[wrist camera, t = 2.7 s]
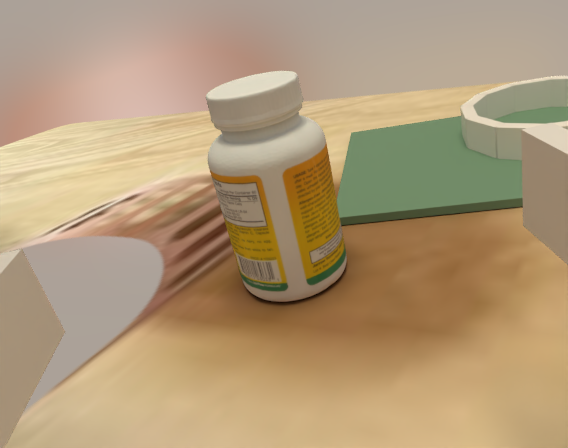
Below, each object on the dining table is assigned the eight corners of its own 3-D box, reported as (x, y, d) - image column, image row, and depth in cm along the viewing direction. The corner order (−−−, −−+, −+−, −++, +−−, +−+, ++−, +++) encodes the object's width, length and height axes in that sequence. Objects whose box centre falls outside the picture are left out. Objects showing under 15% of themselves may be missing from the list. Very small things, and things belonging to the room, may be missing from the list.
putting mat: (334, 226, 29) (332, 218, 29) (352, 138, 42) (351, 132, 42) (729, 184, 24) (731, 175, 24) (611, 99, 37) (612, 93, 37)
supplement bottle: (244, 316, 23) (180, 113, 19) (244, 258, 28) (193, 86, 24) (359, 290, 23) (320, 80, 19) (339, 236, 28) (304, 59, 24)
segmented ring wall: (475, 170, 30) (473, 138, 29) (456, 117, 39) (454, 92, 38) (682, 144, 27) (687, 109, 26) (610, 94, 36) (612, 66, 36)
